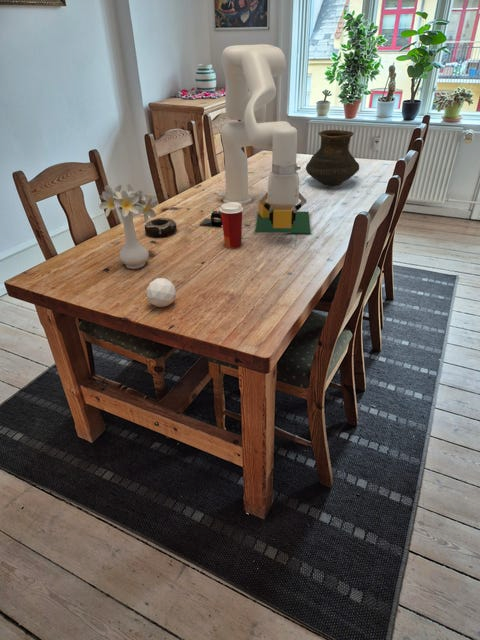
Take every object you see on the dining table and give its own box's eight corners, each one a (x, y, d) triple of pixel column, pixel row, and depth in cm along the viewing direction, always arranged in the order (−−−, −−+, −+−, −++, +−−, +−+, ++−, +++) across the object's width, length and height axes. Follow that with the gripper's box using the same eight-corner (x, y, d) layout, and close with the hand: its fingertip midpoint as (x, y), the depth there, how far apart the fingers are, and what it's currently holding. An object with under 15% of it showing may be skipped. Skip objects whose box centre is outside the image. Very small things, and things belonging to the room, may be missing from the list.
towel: (254, 234, 160) (254, 232, 160) (258, 212, 178) (258, 211, 178) (310, 234, 158) (310, 232, 158) (308, 213, 177) (308, 211, 176)
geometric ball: (157, 315, 121) (135, 297, 117) (169, 293, 125) (148, 275, 121) (174, 310, 116) (152, 291, 112) (186, 287, 120) (165, 268, 116)
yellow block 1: (262, 218, 171) (262, 203, 168) (258, 213, 176) (258, 198, 173) (277, 216, 173) (277, 201, 169) (272, 211, 177) (272, 196, 174)
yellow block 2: (273, 228, 148) (273, 210, 145) (273, 221, 153) (273, 204, 150) (291, 228, 148) (291, 211, 144) (291, 221, 153) (291, 204, 149)
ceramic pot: (366, 181, 209) (373, 131, 197) (340, 194, 194) (345, 140, 182) (322, 173, 223) (326, 125, 211) (294, 185, 208) (296, 134, 196)
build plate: (235, 221, 171) (235, 210, 169) (230, 228, 165) (229, 216, 163) (205, 219, 174) (204, 207, 172) (199, 226, 168) (198, 214, 166)
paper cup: (247, 241, 154) (246, 202, 147) (239, 250, 148) (238, 210, 141) (226, 239, 157) (224, 200, 149) (218, 248, 151) (215, 208, 143)
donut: (139, 236, 162) (137, 226, 159) (155, 225, 171) (153, 215, 168) (167, 240, 158) (166, 229, 156) (182, 228, 167) (181, 217, 165)
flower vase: (155, 276, 135) (143, 195, 121) (102, 270, 139) (84, 191, 125) (172, 258, 145) (163, 182, 131) (122, 253, 149) (107, 179, 136)
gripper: (310, 165, 142) (307, 218, 152) (257, 165, 144) (257, 218, 154) (311, 172, 136) (308, 227, 146) (256, 172, 138) (256, 226, 148)
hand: (282, 222), depth 150 cm, fingers closed on yellow block 2, 6 cm apart
